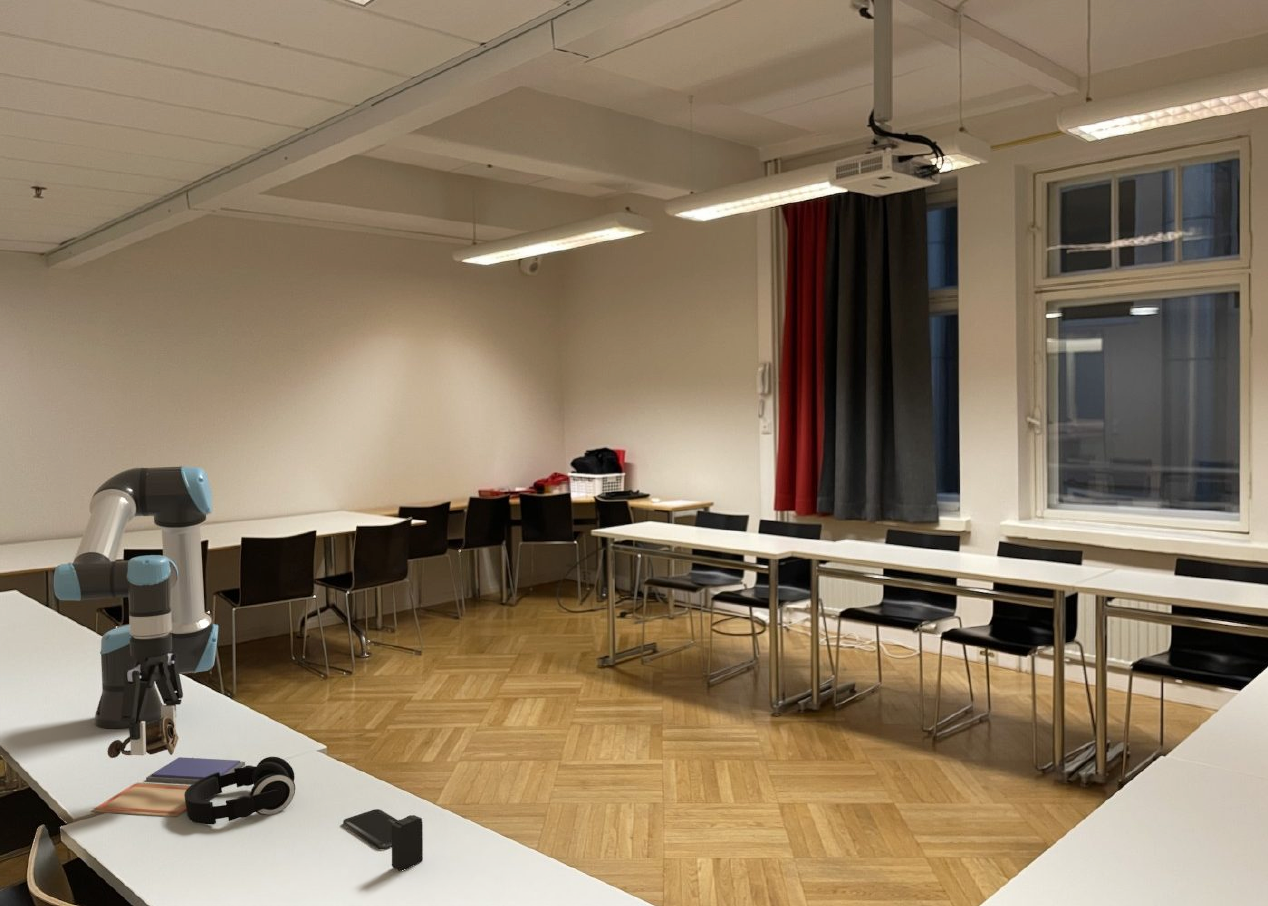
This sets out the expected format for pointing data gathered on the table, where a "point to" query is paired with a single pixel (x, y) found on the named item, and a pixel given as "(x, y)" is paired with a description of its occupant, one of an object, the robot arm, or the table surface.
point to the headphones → (265, 796)
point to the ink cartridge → (407, 842)
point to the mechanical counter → (151, 738)
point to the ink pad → (193, 769)
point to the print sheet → (147, 800)
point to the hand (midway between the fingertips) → (154, 745)
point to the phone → (372, 827)
